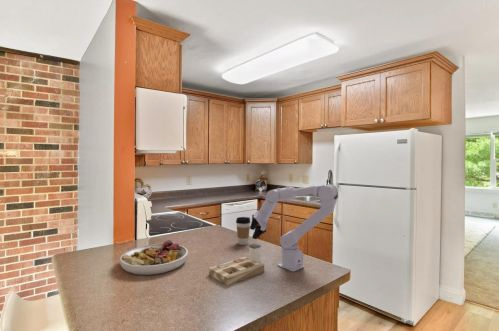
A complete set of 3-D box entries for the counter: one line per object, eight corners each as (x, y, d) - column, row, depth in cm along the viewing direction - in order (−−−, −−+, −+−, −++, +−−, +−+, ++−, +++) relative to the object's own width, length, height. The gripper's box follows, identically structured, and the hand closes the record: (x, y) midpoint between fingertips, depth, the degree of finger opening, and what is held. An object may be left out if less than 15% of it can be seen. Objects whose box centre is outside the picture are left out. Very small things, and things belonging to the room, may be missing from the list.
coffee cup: (244, 246, 155) (244, 219, 154) (232, 243, 160) (233, 217, 160) (253, 242, 162) (253, 217, 161) (242, 240, 167) (242, 215, 166)
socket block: (264, 271, 121) (264, 264, 121) (227, 285, 108) (227, 277, 108) (244, 263, 131) (244, 256, 130) (209, 274, 117) (209, 267, 117)
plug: (260, 261, 133) (260, 245, 132) (254, 263, 130) (254, 246, 130) (254, 259, 136) (254, 243, 135) (248, 261, 133) (248, 244, 133)
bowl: (169, 281, 112) (168, 261, 112) (104, 274, 118) (104, 256, 118) (197, 255, 142) (197, 240, 141) (144, 251, 148) (144, 236, 147)
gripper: (255, 201, 138) (243, 222, 141) (261, 216, 124) (247, 240, 128) (267, 205, 140) (255, 227, 143) (274, 221, 126) (261, 244, 130)
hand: (252, 233), depth 136 cm, fingers open, 7 cm apart
